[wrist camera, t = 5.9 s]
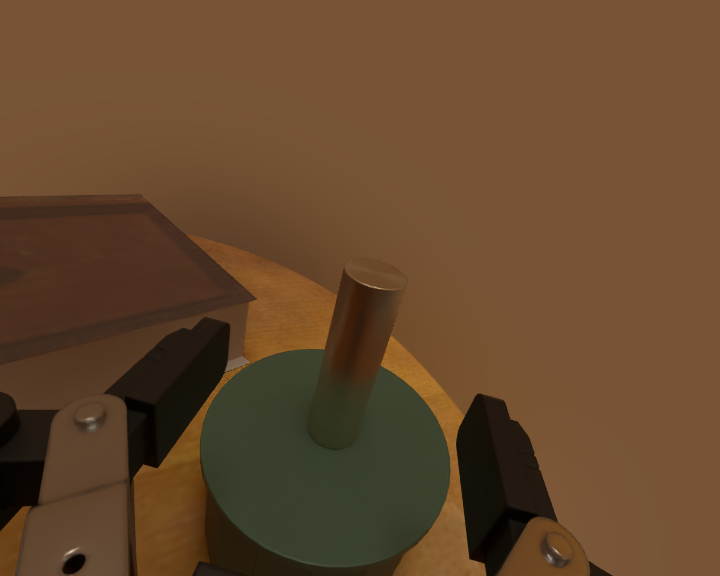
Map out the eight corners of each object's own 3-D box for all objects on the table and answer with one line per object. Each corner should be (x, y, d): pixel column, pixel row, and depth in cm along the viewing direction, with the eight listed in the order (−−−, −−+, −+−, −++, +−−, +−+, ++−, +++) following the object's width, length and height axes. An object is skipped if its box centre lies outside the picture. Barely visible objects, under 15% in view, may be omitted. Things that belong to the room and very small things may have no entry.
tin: (438, 561, 21) (484, 489, 18) (240, 698, 15) (257, 626, 12) (344, 414, 29) (364, 346, 26) (188, 464, 23) (189, 382, 20)
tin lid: (493, 501, 18) (600, 343, 14) (244, 662, 11) (289, 452, 7) (364, 347, 27) (403, 217, 22) (178, 386, 20) (177, 209, 15)
